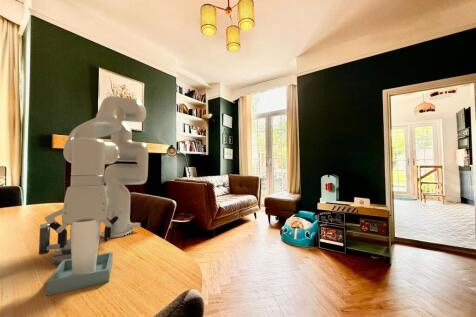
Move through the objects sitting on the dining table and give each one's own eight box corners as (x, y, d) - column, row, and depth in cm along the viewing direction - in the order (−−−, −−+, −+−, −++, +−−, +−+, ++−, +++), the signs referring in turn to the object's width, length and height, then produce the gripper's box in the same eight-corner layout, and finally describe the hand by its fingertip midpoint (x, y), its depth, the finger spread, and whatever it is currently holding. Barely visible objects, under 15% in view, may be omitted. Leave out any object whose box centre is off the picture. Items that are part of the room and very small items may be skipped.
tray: (112, 262, 63) (112, 251, 64) (108, 281, 53) (109, 269, 53) (62, 271, 58) (62, 260, 58) (46, 296, 47) (46, 282, 47)
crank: (83, 246, 69) (84, 219, 69) (77, 252, 64) (79, 223, 65) (43, 251, 65) (44, 222, 65) (34, 257, 60) (36, 226, 60)
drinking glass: (74, 283, 50) (76, 223, 51) (64, 275, 54) (66, 219, 55) (103, 271, 56) (105, 218, 57) (92, 265, 60) (94, 214, 60)
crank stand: (88, 260, 65) (88, 250, 65) (50, 268, 59) (51, 258, 59) (87, 244, 77) (87, 236, 77) (56, 250, 72) (56, 242, 72)
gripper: (123, 180, 64) (121, 234, 63) (52, 181, 55) (49, 244, 55) (122, 181, 57) (120, 242, 56) (41, 183, 49) (38, 254, 48)
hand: (85, 243), depth 55 cm, fingers open, 9 cm apart
